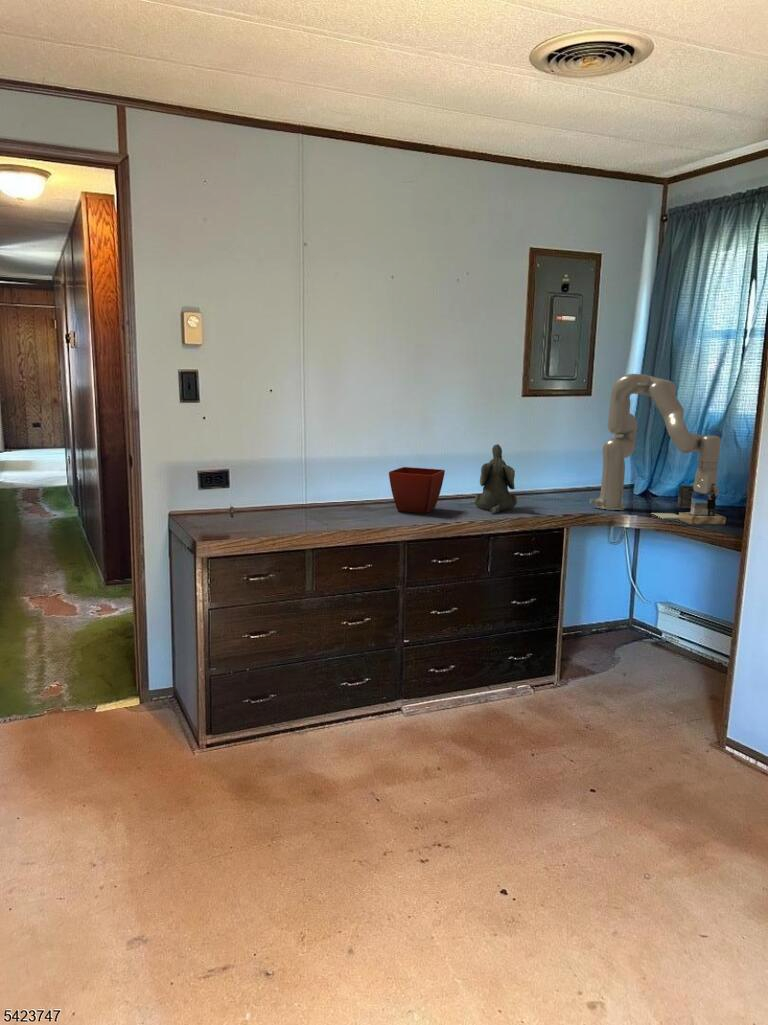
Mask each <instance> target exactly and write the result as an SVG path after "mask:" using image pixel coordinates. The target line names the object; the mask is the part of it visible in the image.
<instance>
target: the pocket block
mask: <svg viewBox="0 0 768 1025" xmlns="http://www.w3.org/2000/svg"><path fill="white" fill-rule="evenodd" d="M678 515H679V518H678V519H677V520H678V521H681V522H684V523H687V524H689V525H726V519H727V517H726V516H724V515H720V514H718V513H715V516H692V515H690V512H682V511H681V512H678Z"/></svg>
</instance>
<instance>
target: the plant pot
mask: <svg viewBox="0 0 768 1025" xmlns="http://www.w3.org/2000/svg"><path fill="white" fill-rule="evenodd" d="M445 471H446V470H445V469H441V468H440V469H438V468H437V469H436V468H427V467H424V468H423V467H413V466H411V467H410V466H409V467H408V466H402V467H400V468H396V469H394V470H391V471H390V470H389V471H388V479H389V484H390V489H391V493H392V497H393V501H394V503H395V507H396V510H397V511H398V512H407V513H419V514H427V513H429V512H431V511H432V510H434V509H435V508H436V506H437V503H438V500H439V497H440V493H441V491H442V487H443V483H444V478H445V473H446V472H445Z"/></svg>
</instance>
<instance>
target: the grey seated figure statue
mask: <svg viewBox="0 0 768 1025" xmlns="http://www.w3.org/2000/svg"><path fill="white" fill-rule="evenodd" d="M491 452H492V457H493V458H492V459H490V460H489V462H486V463H483V464H482V466H481V468H480V478H479V484H480V487H482V492H481V493H477V494H476V495H475V497H474V505H475V506H476V507H477V508H479V509H482V510H488V511H490V513H491V514H493V513H495V514H497V513H498V511H500V512H502V511H504V510H510V509H513V508H514V507H515V506H516V505H517V503H518V502H517V501H518V498H517V494H515V493H514V494H513V493H510V492H509V489H510V490H515V489H516V487H515V472H516V471H515V469H514V468H513V467H511V465H507V463H506V462H505V460H503V450H502V447H501V445H499V444H498V443H497V444H494V445H493V446H492V450H491Z"/></svg>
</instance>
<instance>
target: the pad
mask: <svg viewBox="0 0 768 1025" xmlns="http://www.w3.org/2000/svg"><path fill="white" fill-rule="evenodd" d="M651 514H654V515H656V516H658V517H657V518H659V517H660V518H659V519H661V518H662V520H678V518H679V514H676V513H674V512H651V513H650V515H651ZM654 515H653V516H654ZM656 516H655V517H656Z"/></svg>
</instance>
